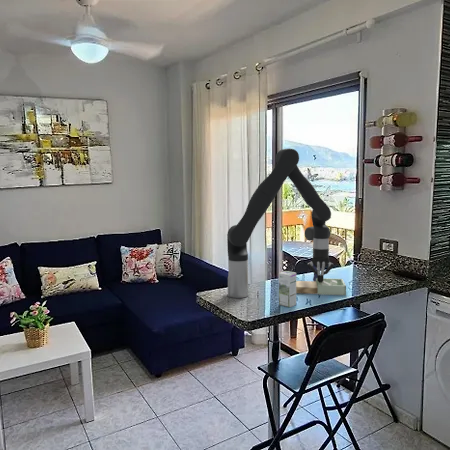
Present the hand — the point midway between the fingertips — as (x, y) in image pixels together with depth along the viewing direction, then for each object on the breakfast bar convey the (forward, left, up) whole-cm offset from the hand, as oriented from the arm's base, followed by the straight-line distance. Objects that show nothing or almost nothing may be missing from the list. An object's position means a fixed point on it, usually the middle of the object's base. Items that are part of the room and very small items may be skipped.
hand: (320, 282), depth 206 cm
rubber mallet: (-1, +15, -4) cm, 15 cm away
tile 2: (+5, 0, -1) cm, 5 cm away
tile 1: (+2, 0, -2) cm, 3 cm away
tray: (+5, 0, -4) cm, 6 cm away
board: (-8, 0, -4) cm, 9 cm away
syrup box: (-16, -25, -4) cm, 30 cm away
